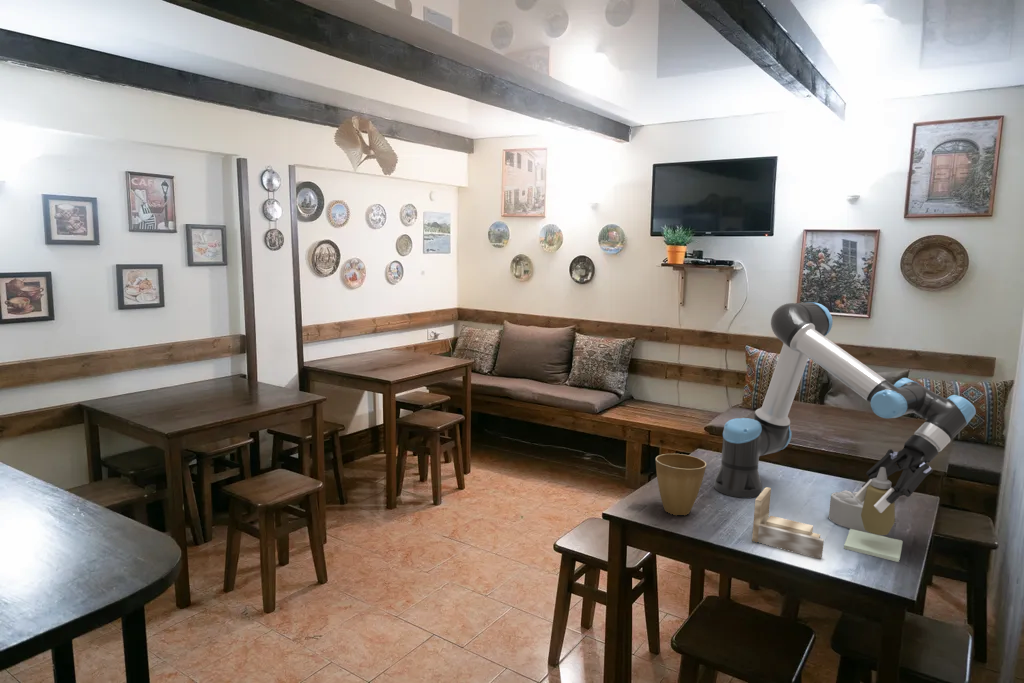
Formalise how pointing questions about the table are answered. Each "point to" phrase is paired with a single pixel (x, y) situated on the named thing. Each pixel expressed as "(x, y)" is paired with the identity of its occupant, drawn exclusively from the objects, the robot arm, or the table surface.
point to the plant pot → (679, 481)
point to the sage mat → (873, 545)
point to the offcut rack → (784, 530)
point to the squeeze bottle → (870, 514)
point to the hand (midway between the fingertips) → (867, 504)
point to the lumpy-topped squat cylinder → (846, 510)
